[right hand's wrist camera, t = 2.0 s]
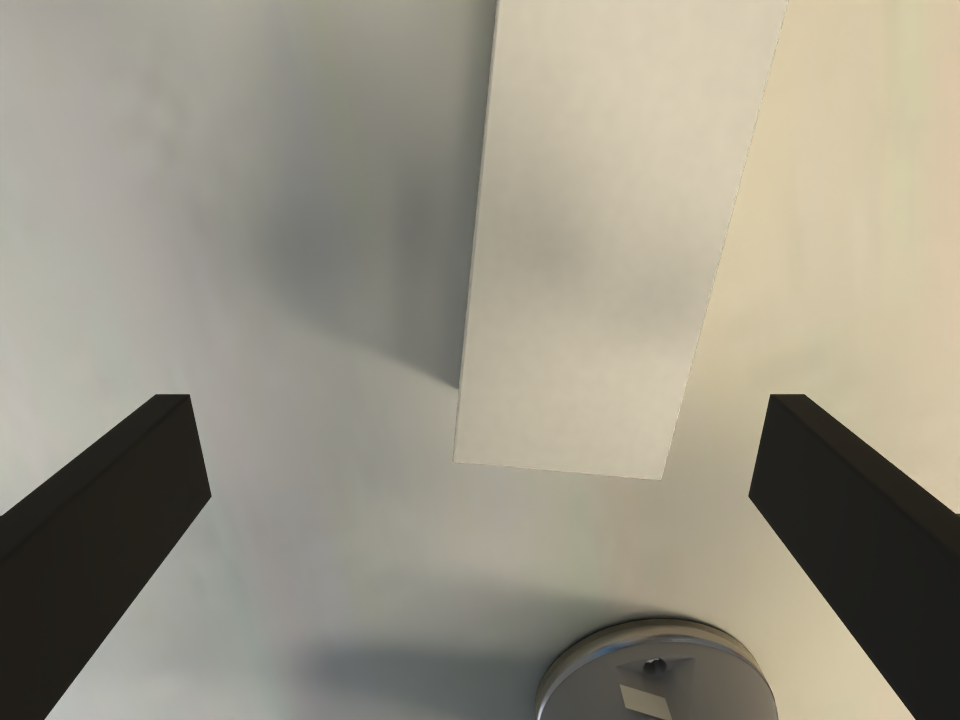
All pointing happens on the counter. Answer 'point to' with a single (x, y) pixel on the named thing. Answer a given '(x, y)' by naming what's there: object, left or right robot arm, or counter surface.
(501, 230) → the wide beam
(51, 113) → the counter surface
